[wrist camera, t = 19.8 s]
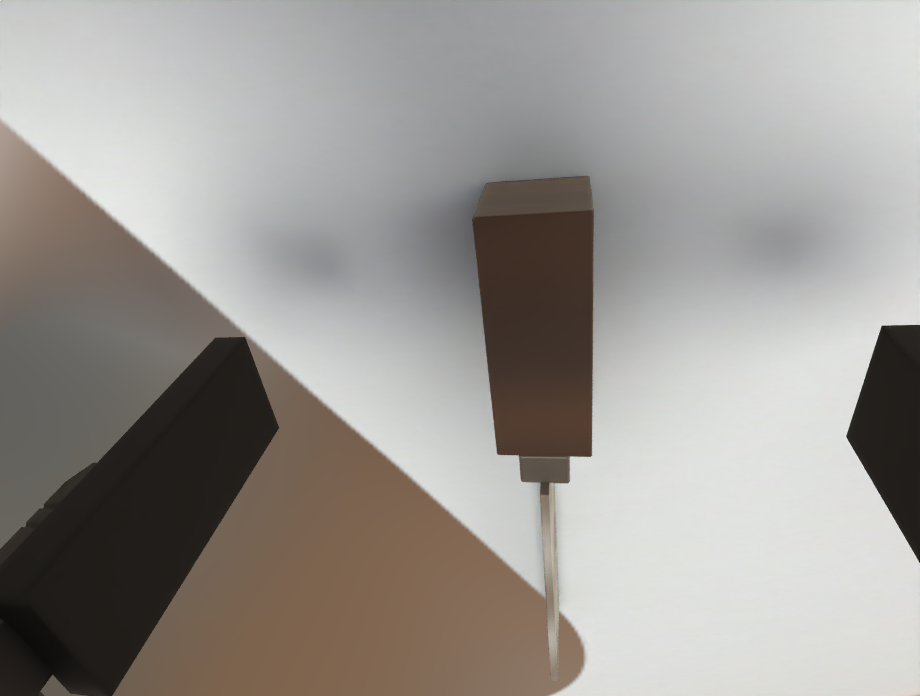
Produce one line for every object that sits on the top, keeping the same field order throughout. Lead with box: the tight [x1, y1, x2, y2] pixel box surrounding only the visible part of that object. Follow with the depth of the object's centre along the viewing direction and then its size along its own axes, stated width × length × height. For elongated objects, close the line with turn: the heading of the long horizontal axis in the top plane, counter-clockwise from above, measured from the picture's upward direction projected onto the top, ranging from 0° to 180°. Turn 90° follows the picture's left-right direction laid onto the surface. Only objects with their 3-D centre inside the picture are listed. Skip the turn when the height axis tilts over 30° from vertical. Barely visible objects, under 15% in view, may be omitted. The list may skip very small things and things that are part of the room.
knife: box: [472, 176, 594, 681], centre depth 21 cm, size 20×3×4 cm, turn 7°
